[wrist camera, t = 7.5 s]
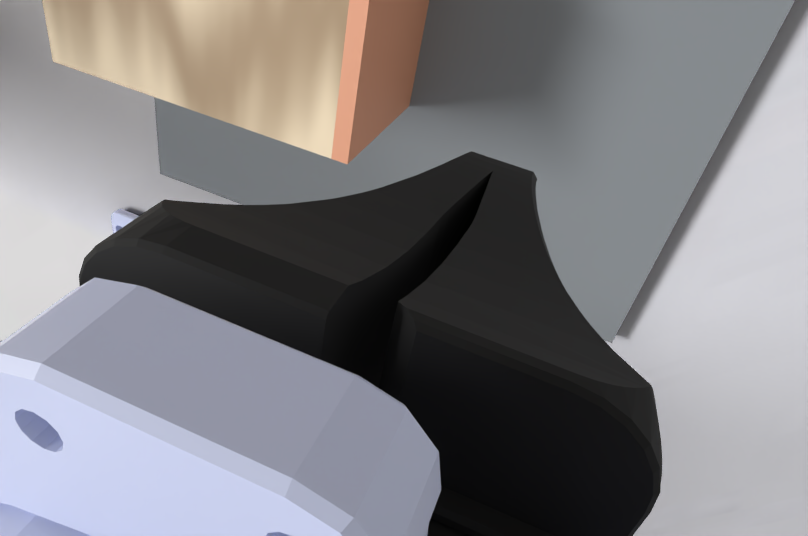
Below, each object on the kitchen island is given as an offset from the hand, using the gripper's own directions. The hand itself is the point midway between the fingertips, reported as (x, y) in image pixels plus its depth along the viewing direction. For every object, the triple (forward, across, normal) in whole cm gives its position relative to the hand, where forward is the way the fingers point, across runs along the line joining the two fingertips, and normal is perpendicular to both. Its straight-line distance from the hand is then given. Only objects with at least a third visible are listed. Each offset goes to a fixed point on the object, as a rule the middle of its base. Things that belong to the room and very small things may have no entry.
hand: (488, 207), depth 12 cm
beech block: (+6, +4, 0) cm, 8 cm away
